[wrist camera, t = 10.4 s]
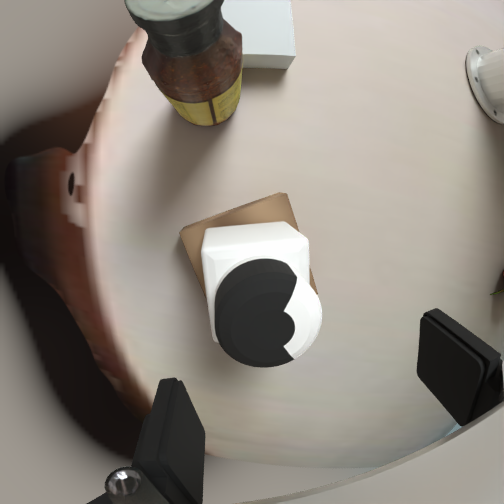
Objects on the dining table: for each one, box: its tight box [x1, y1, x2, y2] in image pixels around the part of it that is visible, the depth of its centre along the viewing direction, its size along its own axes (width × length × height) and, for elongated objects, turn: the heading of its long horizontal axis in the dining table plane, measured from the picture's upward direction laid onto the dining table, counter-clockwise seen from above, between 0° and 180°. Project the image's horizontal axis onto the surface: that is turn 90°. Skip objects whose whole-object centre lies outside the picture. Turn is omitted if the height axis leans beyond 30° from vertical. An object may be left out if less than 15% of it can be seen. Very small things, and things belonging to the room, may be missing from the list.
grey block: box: [221, 0, 296, 69], centre depth 24 cm, size 10×10×4 cm
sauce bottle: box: [125, 0, 243, 126], centre depth 17 cm, size 6×6×20 cm
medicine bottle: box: [201, 221, 322, 367], centre depth 21 cm, size 7×7×12 cm
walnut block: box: [179, 192, 318, 299], centre depth 29 cm, size 10×10×4 cm
